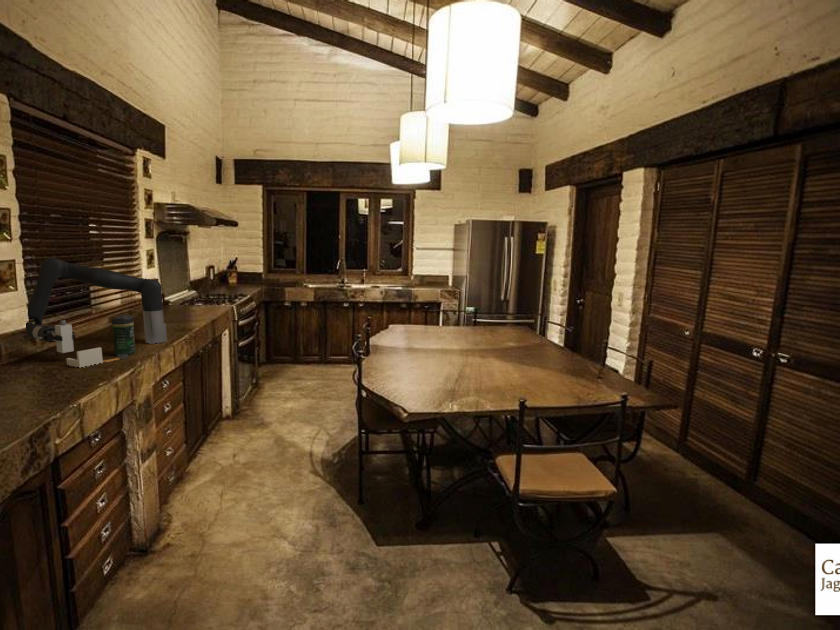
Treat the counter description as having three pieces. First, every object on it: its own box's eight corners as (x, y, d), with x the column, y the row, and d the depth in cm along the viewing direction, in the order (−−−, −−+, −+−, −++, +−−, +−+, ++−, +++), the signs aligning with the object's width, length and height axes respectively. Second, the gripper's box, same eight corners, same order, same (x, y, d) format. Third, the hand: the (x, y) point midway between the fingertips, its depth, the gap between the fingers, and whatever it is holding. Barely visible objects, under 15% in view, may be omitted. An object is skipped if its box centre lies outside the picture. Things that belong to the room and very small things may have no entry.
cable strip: (114, 357, 220) (114, 356, 220) (121, 359, 218) (121, 357, 218) (92, 362, 212) (92, 361, 212) (99, 363, 209) (99, 362, 209)
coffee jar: (130, 356, 224) (127, 317, 221) (112, 356, 223) (108, 317, 220) (138, 351, 233) (135, 313, 230) (121, 351, 232) (117, 314, 229)
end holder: (90, 360, 215) (88, 345, 214) (102, 363, 211) (101, 347, 210) (67, 365, 207) (65, 349, 206) (79, 368, 203) (78, 352, 201)
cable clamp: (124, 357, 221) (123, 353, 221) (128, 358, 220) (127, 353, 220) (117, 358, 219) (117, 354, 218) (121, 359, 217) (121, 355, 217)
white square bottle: (68, 349, 217) (65, 319, 215) (73, 351, 215) (71, 320, 213) (57, 351, 213) (54, 320, 211) (62, 352, 211) (60, 321, 209)
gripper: (27, 327, 212) (48, 332, 205) (63, 323, 225) (84, 327, 217) (29, 344, 213) (50, 349, 206) (64, 338, 226) (85, 343, 218)
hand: (67, 337), depth 212 cm, fingers closed on white square bottle, 4 cm apart
